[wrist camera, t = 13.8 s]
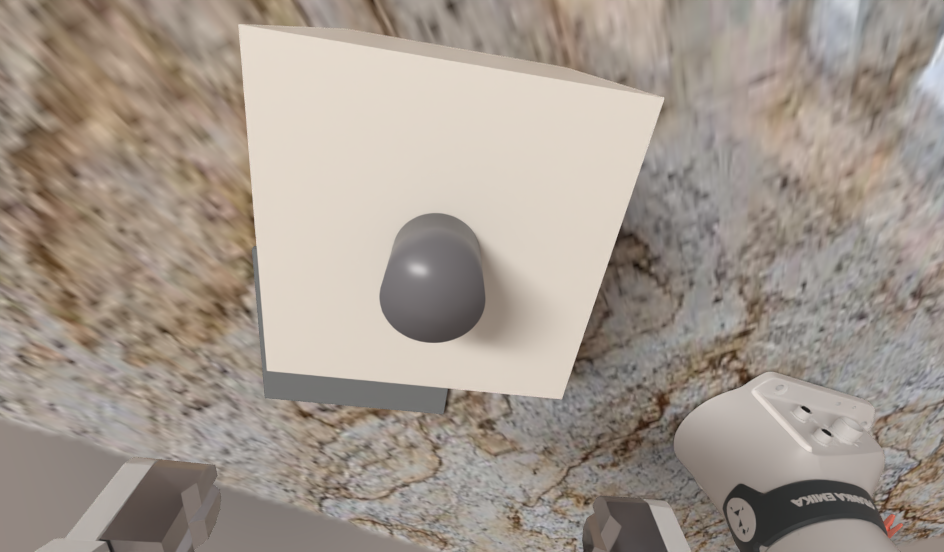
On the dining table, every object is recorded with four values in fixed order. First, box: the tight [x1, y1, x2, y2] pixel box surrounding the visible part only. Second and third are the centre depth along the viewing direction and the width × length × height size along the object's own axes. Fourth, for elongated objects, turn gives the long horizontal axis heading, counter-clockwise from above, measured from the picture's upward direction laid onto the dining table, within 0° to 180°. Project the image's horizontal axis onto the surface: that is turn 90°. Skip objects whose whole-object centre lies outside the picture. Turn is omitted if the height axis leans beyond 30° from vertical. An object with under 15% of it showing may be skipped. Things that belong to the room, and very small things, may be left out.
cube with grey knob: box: [239, 24, 664, 399], centre depth 26 cm, size 16×16×22 cm
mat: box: [252, 246, 448, 414], centre depth 44 cm, size 19×18×1 cm
